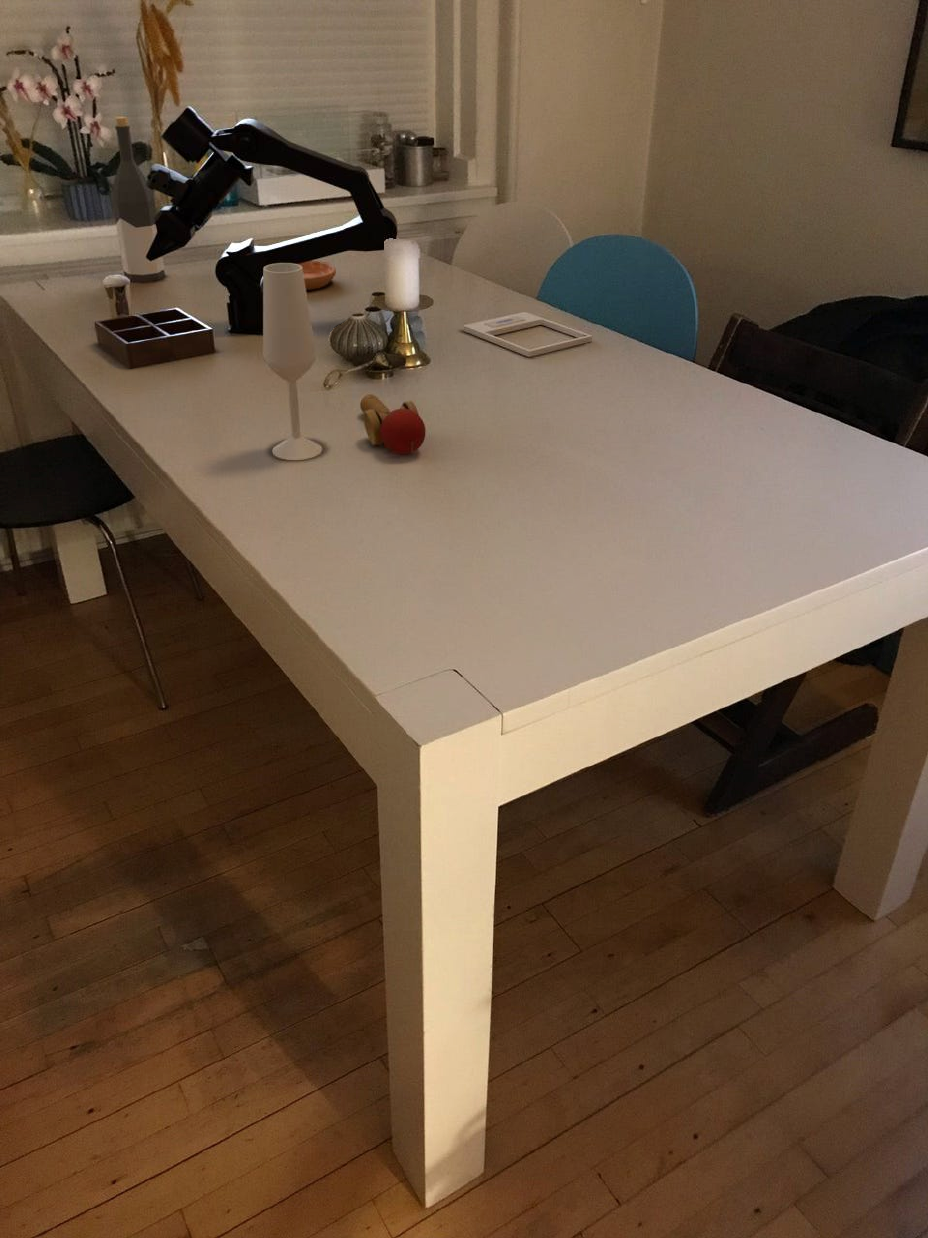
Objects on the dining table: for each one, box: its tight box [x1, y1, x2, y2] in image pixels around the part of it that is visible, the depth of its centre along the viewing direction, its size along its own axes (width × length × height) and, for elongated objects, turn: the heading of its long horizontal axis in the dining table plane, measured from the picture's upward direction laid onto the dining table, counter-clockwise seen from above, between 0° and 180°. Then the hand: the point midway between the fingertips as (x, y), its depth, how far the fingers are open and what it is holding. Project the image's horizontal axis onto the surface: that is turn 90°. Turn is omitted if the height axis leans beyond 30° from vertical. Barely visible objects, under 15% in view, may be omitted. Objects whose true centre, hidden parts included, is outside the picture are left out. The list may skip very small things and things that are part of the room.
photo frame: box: [462, 311, 593, 358], centre depth 183 cm, size 15×1×18 cm
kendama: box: [359, 393, 427, 455], centre depth 143 cm, size 8×6×18 cm
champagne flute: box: [262, 263, 323, 461], centre depth 133 cm, size 7×7×24 cm
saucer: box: [298, 260, 337, 291], centre depth 210 cm, size 16×16×3 cm
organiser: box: [94, 307, 216, 369], centre depth 174 cm, size 15×15×4 cm
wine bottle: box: [111, 116, 166, 284], centre depth 206 cm, size 8×8×30 cm
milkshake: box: [102, 270, 133, 319], centre depth 182 cm, size 4×5×10 cm
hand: (154, 252), depth 178 cm, fingers open, 9 cm apart
